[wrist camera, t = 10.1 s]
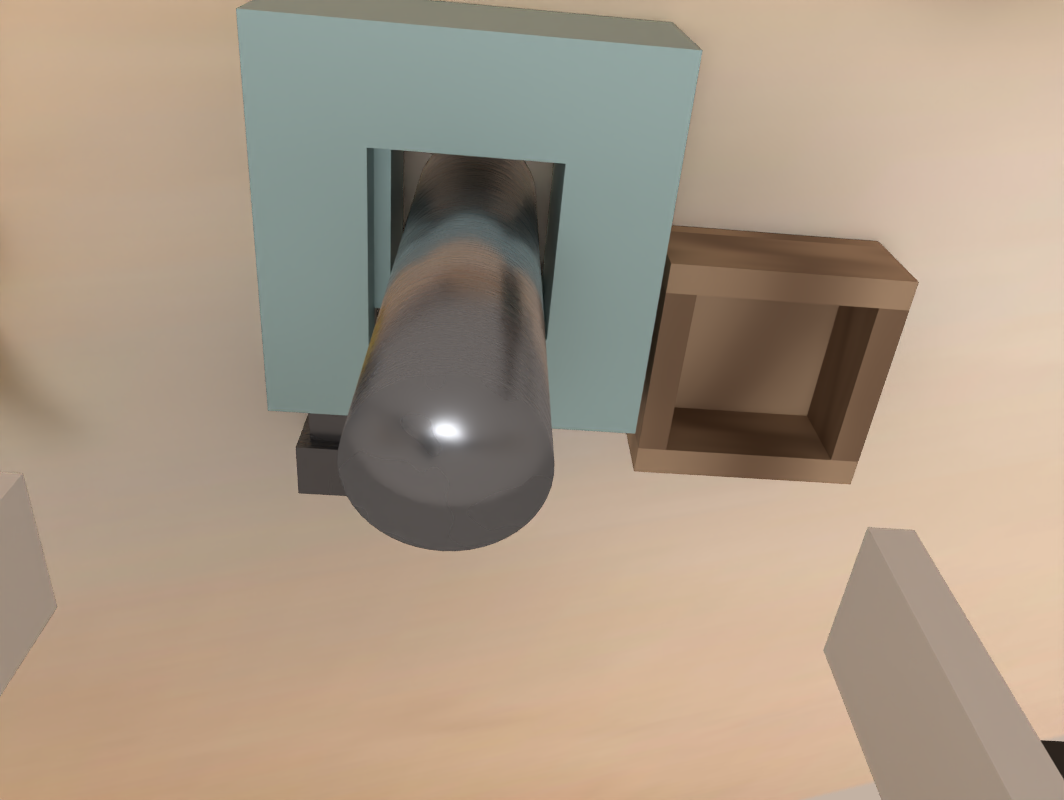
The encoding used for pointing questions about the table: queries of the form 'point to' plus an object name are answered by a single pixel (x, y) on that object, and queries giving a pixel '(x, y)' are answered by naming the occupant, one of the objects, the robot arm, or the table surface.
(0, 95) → the table surface
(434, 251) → the cylinder
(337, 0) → the chuck block
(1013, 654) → the table surface
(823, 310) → the brown wooden tray
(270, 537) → the table surface
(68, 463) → the table surface
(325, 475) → the block
